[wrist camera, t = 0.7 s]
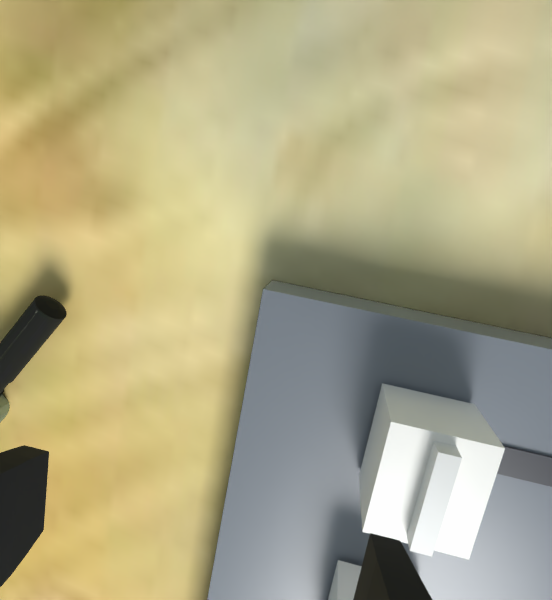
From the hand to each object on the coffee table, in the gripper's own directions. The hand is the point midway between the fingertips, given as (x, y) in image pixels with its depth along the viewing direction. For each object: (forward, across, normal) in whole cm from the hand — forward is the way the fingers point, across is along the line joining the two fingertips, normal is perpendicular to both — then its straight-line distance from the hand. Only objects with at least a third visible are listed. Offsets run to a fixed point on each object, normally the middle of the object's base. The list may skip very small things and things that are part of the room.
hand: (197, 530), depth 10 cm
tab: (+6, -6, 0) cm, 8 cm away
